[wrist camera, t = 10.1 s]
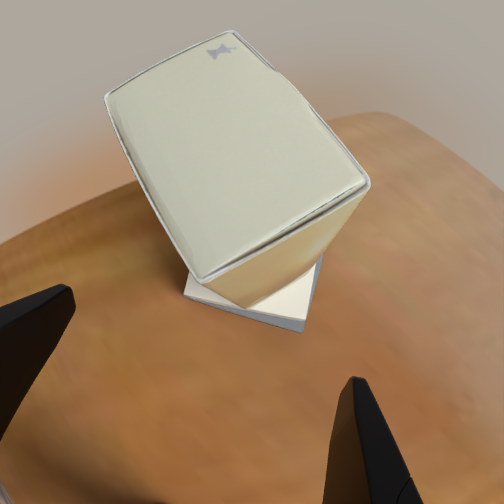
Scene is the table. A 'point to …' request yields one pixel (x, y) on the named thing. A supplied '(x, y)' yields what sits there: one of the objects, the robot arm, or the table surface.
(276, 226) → the skincare box
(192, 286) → the tower top
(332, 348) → the table surface
